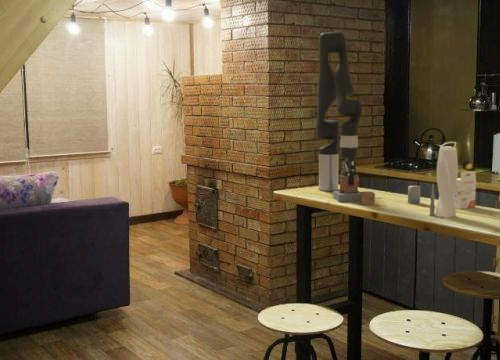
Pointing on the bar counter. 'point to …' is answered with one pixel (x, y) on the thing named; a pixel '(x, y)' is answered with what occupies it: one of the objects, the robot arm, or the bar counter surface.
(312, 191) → the bar counter surface
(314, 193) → the bar counter surface
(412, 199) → the grey upright block
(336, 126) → the robot arm
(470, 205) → the ink cartridge box
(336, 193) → the block
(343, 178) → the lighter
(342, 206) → the bar counter surface
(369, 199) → the walnut block
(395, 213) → the bar counter surface
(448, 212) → the skyscraper
